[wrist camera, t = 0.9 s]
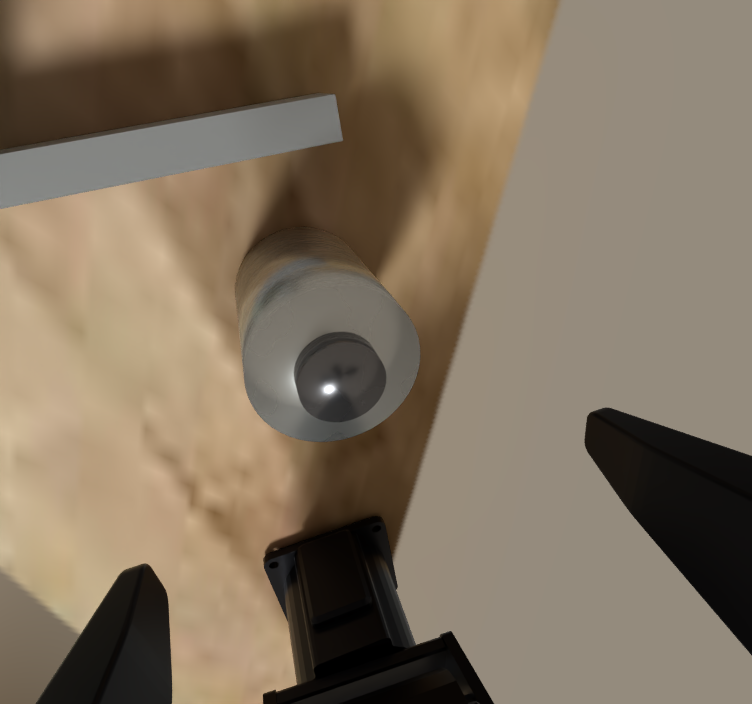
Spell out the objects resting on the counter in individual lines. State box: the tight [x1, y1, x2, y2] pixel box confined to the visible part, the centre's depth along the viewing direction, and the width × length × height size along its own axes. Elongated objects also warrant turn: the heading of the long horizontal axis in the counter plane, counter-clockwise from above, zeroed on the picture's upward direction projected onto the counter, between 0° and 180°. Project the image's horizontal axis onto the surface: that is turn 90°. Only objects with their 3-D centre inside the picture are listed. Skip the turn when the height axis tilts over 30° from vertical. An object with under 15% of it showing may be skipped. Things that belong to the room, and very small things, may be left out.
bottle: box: [235, 227, 420, 442], centre depth 15 cm, size 5×5×7 cm
